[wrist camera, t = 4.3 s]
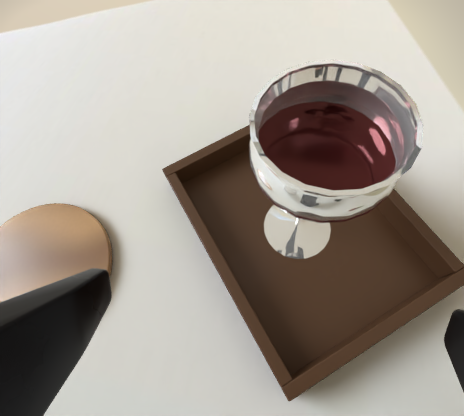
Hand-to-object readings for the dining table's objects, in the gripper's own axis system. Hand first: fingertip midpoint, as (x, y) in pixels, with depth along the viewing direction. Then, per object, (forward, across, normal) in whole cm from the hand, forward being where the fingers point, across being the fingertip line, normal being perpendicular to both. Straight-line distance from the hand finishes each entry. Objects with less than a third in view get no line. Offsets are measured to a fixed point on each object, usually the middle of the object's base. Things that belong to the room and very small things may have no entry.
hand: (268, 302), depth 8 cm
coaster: (+11, +17, +8) cm, 22 cm away
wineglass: (+15, -2, +4) cm, 16 cm away
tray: (+15, -2, +4) cm, 16 cm away
